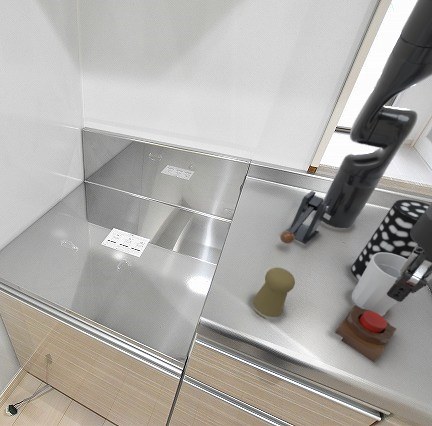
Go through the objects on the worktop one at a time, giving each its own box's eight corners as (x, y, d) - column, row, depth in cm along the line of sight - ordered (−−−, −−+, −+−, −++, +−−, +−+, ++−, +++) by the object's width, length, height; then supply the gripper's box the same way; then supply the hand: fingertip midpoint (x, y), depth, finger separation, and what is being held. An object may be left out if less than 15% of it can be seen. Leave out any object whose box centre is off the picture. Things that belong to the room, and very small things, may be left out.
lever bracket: (304, 247, 79) (323, 208, 71) (282, 235, 83) (298, 198, 75) (317, 234, 83) (337, 197, 75) (296, 224, 87) (313, 187, 79)
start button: (363, 313, 58) (367, 307, 57) (385, 325, 56) (390, 320, 55) (356, 323, 57) (360, 317, 56) (378, 336, 54) (383, 331, 53)
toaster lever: (289, 248, 75) (290, 242, 72) (277, 241, 77) (277, 236, 74) (324, 205, 76) (326, 198, 74) (311, 200, 79) (312, 193, 76)
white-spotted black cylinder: (353, 286, 68) (402, 218, 56) (345, 262, 74) (388, 196, 62) (397, 297, 65) (458, 228, 53) (385, 270, 72) (437, 203, 60)
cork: (284, 322, 61) (304, 288, 54) (253, 317, 62) (269, 283, 55) (277, 298, 66) (294, 265, 59) (249, 294, 67) (262, 261, 60)
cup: (374, 326, 60) (408, 288, 53) (336, 297, 66) (363, 259, 59) (398, 312, 62) (434, 274, 55) (359, 285, 68) (387, 247, 61)
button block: (350, 310, 63) (359, 299, 60) (390, 334, 58) (401, 323, 56) (332, 334, 59) (341, 323, 56) (373, 362, 54) (385, 351, 52)
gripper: (439, 192, 47) (381, 266, 57) (414, 225, 40) (355, 302, 51) (508, 214, 42) (432, 291, 52) (492, 256, 36) (409, 333, 46)
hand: (394, 296), depth 52 cm, fingers closed
